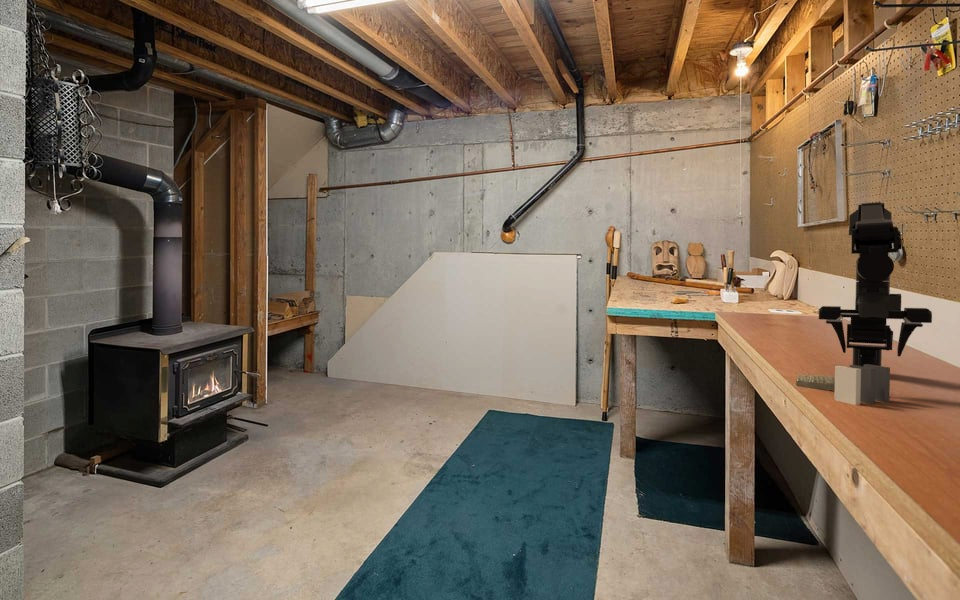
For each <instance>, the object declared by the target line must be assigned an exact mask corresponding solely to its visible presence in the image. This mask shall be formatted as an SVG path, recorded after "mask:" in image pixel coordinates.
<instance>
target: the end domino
mask: <svg viewBox="0 0 960 600" xmlns="http://www.w3.org/2000/svg"><path fill="white" fill-rule="evenodd" d="M834 377H835V391H834V394H833V395H834V399H833V400H834V401H837V402H841V403H845V404H849V405H854V406H858V405H859V406H860V405H861V402H860V391H861V369H857V368H851V367H849V366H845V365H844V366H843V365H835V366H834Z"/></svg>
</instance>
